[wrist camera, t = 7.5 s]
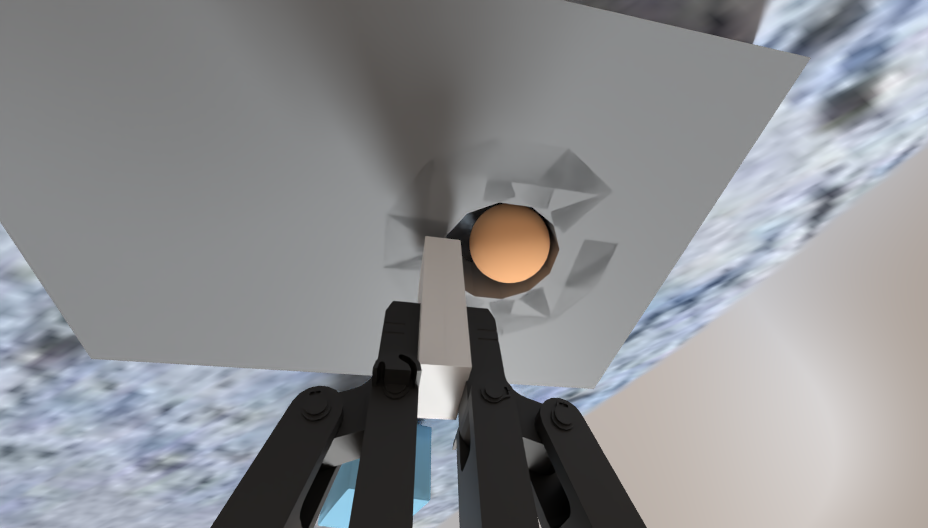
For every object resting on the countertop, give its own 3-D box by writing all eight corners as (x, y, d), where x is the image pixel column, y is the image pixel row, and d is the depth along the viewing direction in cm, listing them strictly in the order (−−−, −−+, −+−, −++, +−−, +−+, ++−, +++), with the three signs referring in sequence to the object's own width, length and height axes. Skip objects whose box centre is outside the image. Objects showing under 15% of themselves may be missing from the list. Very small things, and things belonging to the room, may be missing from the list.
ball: (462, 293, 18) (542, 304, 18) (479, 222, 15) (569, 237, 16) (463, 247, 21) (530, 258, 21) (476, 183, 18) (552, 196, 19)
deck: (128, 319, 22) (91, 358, 20) (-118, -154, 11) (-278, -196, 8) (580, 353, 27) (593, 388, 25) (752, 47, 15) (810, 57, 13)
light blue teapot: (379, 377, 27) (362, 485, 21) (449, 396, 29) (453, 499, 23) (331, 449, 33) (307, 549, 27) (392, 461, 35) (383, 556, 29)
